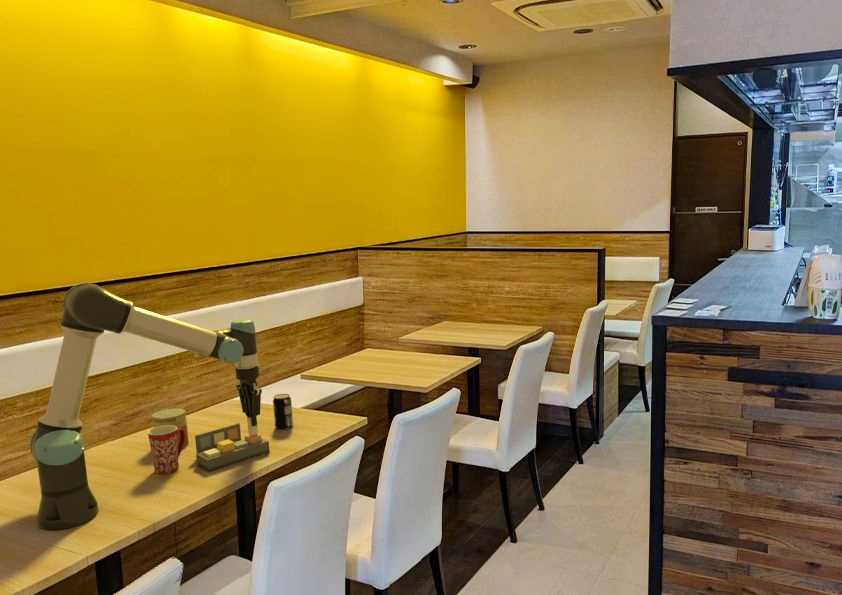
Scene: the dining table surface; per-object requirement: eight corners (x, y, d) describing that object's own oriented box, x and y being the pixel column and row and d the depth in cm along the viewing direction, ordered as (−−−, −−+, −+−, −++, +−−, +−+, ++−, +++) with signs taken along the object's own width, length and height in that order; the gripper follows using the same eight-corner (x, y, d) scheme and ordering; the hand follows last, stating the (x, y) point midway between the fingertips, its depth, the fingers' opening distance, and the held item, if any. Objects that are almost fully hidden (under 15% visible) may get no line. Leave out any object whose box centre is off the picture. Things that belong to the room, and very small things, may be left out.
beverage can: (274, 425, 267) (271, 394, 265) (292, 423, 269) (289, 392, 267) (276, 431, 261) (273, 399, 259) (294, 428, 263) (291, 397, 261)
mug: (164, 477, 222) (159, 436, 220) (145, 472, 227) (141, 432, 225) (196, 463, 233) (192, 423, 231) (177, 459, 238) (173, 420, 235)
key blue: (238, 456, 234) (237, 446, 233) (232, 453, 236) (231, 443, 236) (249, 452, 236) (248, 442, 236) (243, 449, 239) (242, 439, 239)
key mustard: (223, 455, 230) (222, 445, 229) (217, 452, 233) (216, 442, 232) (234, 452, 233) (234, 442, 232) (229, 449, 236) (228, 439, 235)
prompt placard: (198, 459, 236) (196, 436, 235) (197, 458, 237) (194, 435, 236) (241, 445, 247) (239, 423, 246) (240, 445, 248) (238, 423, 247)
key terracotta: (251, 448, 237) (250, 438, 236) (245, 445, 240) (244, 435, 239) (262, 444, 239) (261, 435, 239) (256, 442, 242) (255, 432, 242)
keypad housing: (208, 472, 225) (207, 460, 224) (197, 465, 231) (196, 454, 230) (269, 452, 239) (268, 441, 239) (257, 446, 245) (256, 435, 244)
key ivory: (209, 465, 227) (208, 454, 226) (204, 462, 230) (203, 451, 229) (221, 461, 230) (220, 451, 229) (215, 458, 232) (214, 448, 232)
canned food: (148, 451, 246) (145, 418, 244) (165, 440, 257) (162, 408, 255) (178, 452, 244) (175, 418, 242) (194, 440, 255) (191, 408, 253)
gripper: (266, 366, 233) (273, 435, 237) (247, 361, 243) (253, 427, 246) (246, 371, 228) (253, 442, 232) (227, 365, 238) (233, 433, 241)
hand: (253, 434), depth 239 cm, fingers closed
